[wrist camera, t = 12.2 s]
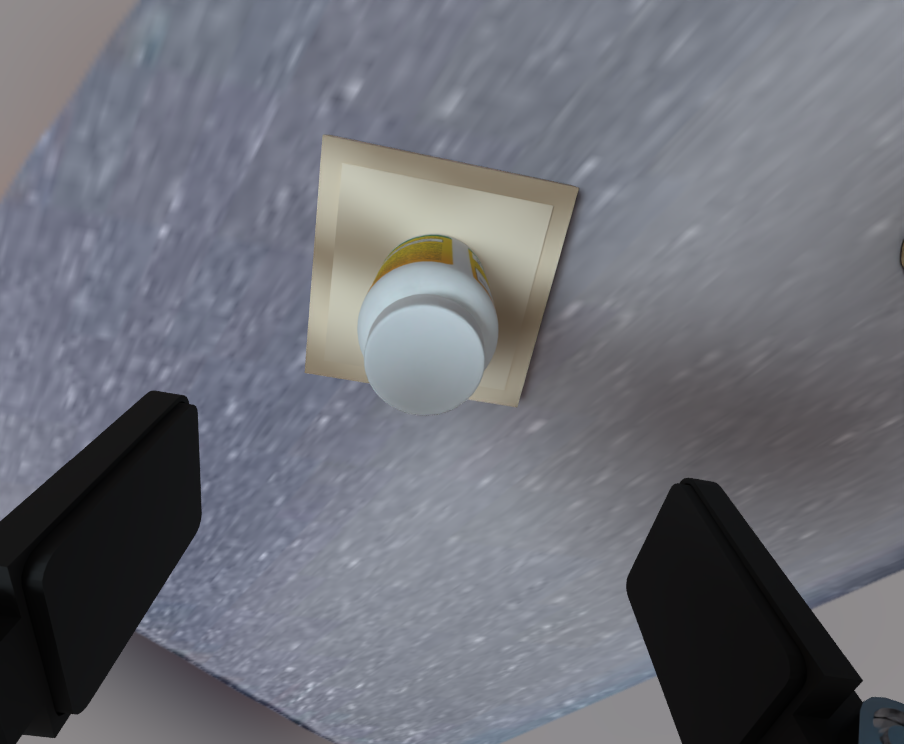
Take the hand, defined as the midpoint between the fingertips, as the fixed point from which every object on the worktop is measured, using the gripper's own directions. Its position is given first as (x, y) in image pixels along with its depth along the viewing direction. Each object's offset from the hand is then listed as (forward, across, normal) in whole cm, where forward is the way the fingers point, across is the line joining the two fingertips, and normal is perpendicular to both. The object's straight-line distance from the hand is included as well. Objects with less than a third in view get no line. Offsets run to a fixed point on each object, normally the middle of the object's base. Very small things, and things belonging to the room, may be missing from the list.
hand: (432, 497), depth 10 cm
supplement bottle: (+17, 0, +1) cm, 17 cm away
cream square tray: (+18, +1, +1) cm, 19 cm away
